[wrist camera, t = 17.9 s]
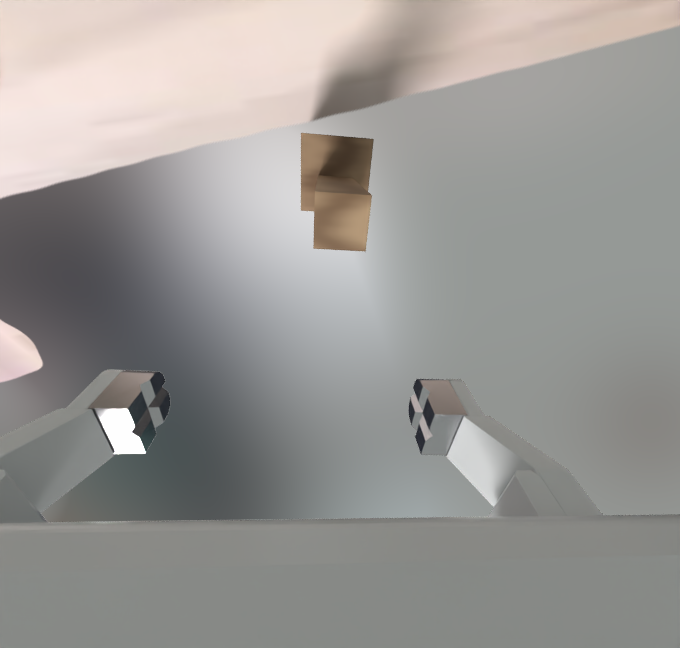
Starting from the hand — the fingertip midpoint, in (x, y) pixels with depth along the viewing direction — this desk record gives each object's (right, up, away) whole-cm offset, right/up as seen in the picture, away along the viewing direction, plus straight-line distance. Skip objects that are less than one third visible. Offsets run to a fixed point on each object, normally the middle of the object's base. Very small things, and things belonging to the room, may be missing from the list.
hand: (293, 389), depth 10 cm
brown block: (+1, +13, +19) cm, 23 cm away
